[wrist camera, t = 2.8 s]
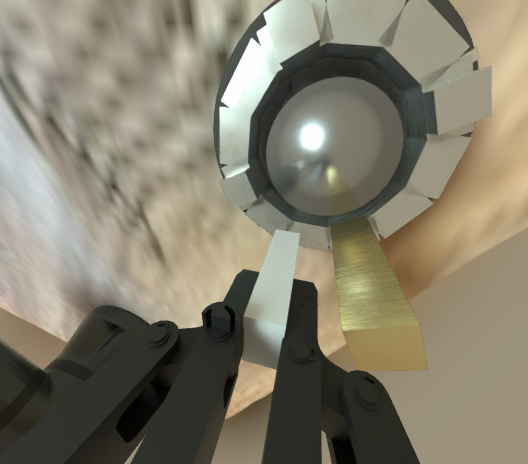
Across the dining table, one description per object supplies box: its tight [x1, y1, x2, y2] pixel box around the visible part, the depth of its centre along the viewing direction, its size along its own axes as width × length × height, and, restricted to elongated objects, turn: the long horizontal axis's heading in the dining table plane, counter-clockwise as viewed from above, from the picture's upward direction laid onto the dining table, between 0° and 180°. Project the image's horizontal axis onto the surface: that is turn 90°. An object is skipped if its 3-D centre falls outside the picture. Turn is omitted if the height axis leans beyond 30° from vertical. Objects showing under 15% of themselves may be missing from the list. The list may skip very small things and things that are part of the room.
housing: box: [213, 0, 480, 248], centre depth 14 cm, size 18×18×7 cm
